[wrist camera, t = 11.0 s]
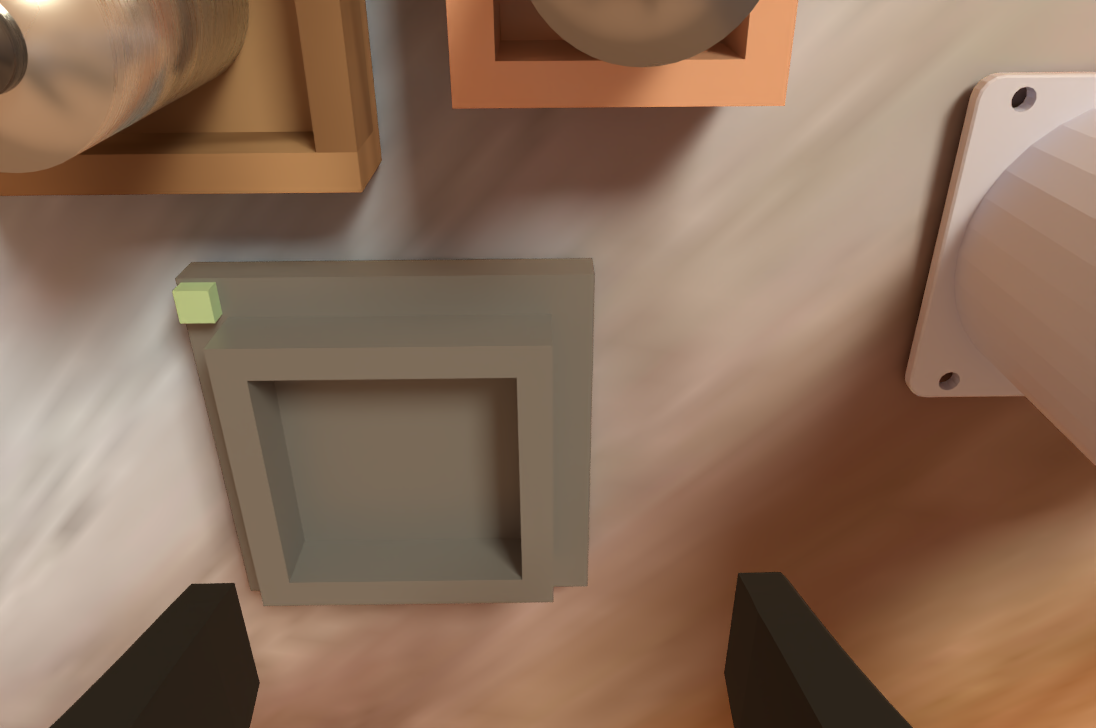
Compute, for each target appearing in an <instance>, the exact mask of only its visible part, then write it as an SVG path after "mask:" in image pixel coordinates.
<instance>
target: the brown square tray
mask: <svg viewBox="0 0 1096 728" xmlns="http://www.w3.org/2000/svg"><path fill="white" fill-rule="evenodd" d="M248 3H249V21H248V29H247V33H246V37H245V41H244V43H243V45H242V48H241V50H240V52H239V54H238V55H237V57H236V59H235V60H234V62H233V63H232V64H231V65H230V66H229V67H228V68H227V69H226V70H225V71H224V72H223V73H222V74H220V75H219V76H218V77H216V78H214V79H213V80H211V81H209V82H207V83H206V84H204V85H202V86H200V87H198V88H197V89H195V90H193V91H191V92H189V93H188V94H186V95H184V96H182V97H180V98H179V99H177V100H175V101H173V102H171V103H170V104H168V105H166V106H164V107H162V108H161V109H159V110H157V111H155V112H153V113H152V114H150V115H148V116H146V117H144V118H143V119H141V120H139V121H137V122H136V123H134V124H132V125H130V126H128V127H127V128H125V129H123V130H121V131H119V132H118V133H116V134H114V135H112V136H110V137H109V138H107V139H105V140H103V141H101V142H100V143H98V144H96V145H94V146H92V147H91V148H89V149H87V150H85V151H83V152H82V153H80V154H78V155H76V156H74V157H73V158H71V159H69V160H67V161H65V162H64V163H61V164H59V165H56V166H54V167H51V168H49V169H44V170H40V171H36V172H26V173H4V172H0V196H22V195H128V194H235V193H341V192H362V191H363V190H364V188H365V187H366V185H367V183H368V182H369V180H370V179H371V177H372V175H373V174H374V172H375V171H376V169H377V168H378V166H379V164H380V163H381V161H382V158H381V148H380V138H379V129H378V119H377V110H376V100H375V90H374V81H373V71H372V61H371V52H370V42H369V32H368V23H367V13H366V4H365V0H248Z"/></svg>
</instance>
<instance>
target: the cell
mask: <svg viewBox="0 0 1096 728" xmlns="http://www.w3.org/2000/svg"><path fill="white" fill-rule="evenodd" d="M248 21H249V3H248V0H0V172H4V173H26V172H36V171H40V170H44V169H49V168H51V167H54V166H56V165H59V164H61V163H64V162H65V161H67V160H69V159H71V158H73V157H74V156H76V155H78V154H80V153H82V152H83V151H85V150H87V149H89V148H91V147H92V146H94V145H96V144H98V143H100V142H101V141H103V140H105V139H107V138H109V137H110V136H112V135H114V134H116V133H118V132H119V131H121V130H123V129H125V128H127V127H128V126H130V125H132V124H134V123H136V122H137V121H139V120H141V119H143V118H144V117H146V116H148V115H150V114H152V113H153V112H155V111H157V110H159V109H161V108H162V107H164V106H166V105H168V104H170V103H171V102H173V101H175V100H177V99H179V98H180V97H182V96H184V95H186V94H188V93H189V92H191V91H193V90H195V89H197V88H198V87H200V86H202V85H204V84H206V83H207V82H209V81H211V80H213V79H214V78H216V77H218V76H219V75H220V74H222V73H223V72H224V71H225V70H226V69H227V68H228V67H229V66H230V65H231V64H232V63H233V62H234V60H235V59H236V57H237V55H238V54H239V52H240V50H241V48H242V45H243V43H244V41H245V37H246V33H247V29H248Z"/></svg>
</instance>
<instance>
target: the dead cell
mask: <svg viewBox="0 0 1096 728" xmlns="http://www.w3.org/2000/svg"><path fill="white" fill-rule="evenodd" d="M531 2H532V3H533V5H534V6H535V8H536V10H537V11H538V13H539V14H540V15H541V16H542V18H543V19H544V20H545V21H546V22H547V24H548V25H549V26H550V27H551V28H552V29H553V30H554V31H555V32H556V33H557V34H558V35H559V36H560V37H561V38H563V39H564V40H565V41H566V42H568V43H569V44H571V45H572V46H574V47H575V48H576V49H578V50H580V51H582V52H584V53H586V54H587V55H589V56H591V57H593V58H596V59H599V60H602V61H605V62H608V63H611V64H616V65H621V66H628V67H655V66H662V65H667V64H672V63H676V62H679V61H682V60H685V59H688V58H690V57H693V56H695V55H697V54H699V53H701V52H703V51H705V50H707V49H709V48H710V47H712V46H713V45H715V44H716V43H718V42H719V41H721V40H722V39H724V38H725V37H726V36H727V35H728V34H730V33H731V32H732V31H733V30H734V29H735V28H736V27H738V26H739V25H740V24H741V22H742V21H743V20H744V19H745V18H746V17H747V16H748V15H749V14H750V12H751V11H752V10H753V9H754V7H755V6H756V4H757V3H758V2H759V0H531Z"/></svg>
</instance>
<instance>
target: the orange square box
mask: <svg viewBox="0 0 1096 728" xmlns="http://www.w3.org/2000/svg"><path fill="white" fill-rule="evenodd" d="M797 5H798V0H759V2H758V3H757V4H756V6H755V7H754V9H753V10H752V11H751V12H750V14H749V15H748V16H747V17H746V18H745V19H744V20H743V21H742V22H741V24H740V25H739V26H738V27H736V28H735V29H734V30H733V31H732V32H731V33H730V34H728V35H727V36H726V37H725V38H724V39H722V40H721V41H719V42H718V43H716V44H715V45H713V46H712V47H710V48H709V49H707V50H705V51H703V52H701V53H699V54H697V55H695V56H693V57H690V58H688V59H685V60H682V61H679V62H676V63H672V64H667V65H662V66H655V67H628V66H621V65H616V64H611V63H608V62H605V61H602V60H599V59H596V58H593V57H591V56H589V55H587V54H586V53H584V52H582V51H580V50H578V49H576V48H575V47H574V46H572V45H571V44H569V43H568V42H566V41H565V40H564V39H563V38H561V37H560V36H559V35H558V34H557V33H556V32H555V31H554V30H553V29H552V28H551V27H550V26H549V25H548V24H547V22H546V21H545V20H544V19H543V18H542V16H541V15H540V14H539V13H538V11H537V10H536V8H535V6H534V5H533V3H532V2H531V0H446V11H447V28H448V45H449V61H450V78H451V94H452V109H457V108H574V107H690V106H785V98H786V90H787V83H788V75H789V67H790V60H791V52H792V44H793V36H794V29H795V21H796V13H797Z"/></svg>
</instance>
